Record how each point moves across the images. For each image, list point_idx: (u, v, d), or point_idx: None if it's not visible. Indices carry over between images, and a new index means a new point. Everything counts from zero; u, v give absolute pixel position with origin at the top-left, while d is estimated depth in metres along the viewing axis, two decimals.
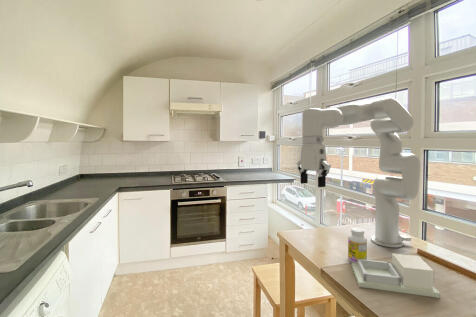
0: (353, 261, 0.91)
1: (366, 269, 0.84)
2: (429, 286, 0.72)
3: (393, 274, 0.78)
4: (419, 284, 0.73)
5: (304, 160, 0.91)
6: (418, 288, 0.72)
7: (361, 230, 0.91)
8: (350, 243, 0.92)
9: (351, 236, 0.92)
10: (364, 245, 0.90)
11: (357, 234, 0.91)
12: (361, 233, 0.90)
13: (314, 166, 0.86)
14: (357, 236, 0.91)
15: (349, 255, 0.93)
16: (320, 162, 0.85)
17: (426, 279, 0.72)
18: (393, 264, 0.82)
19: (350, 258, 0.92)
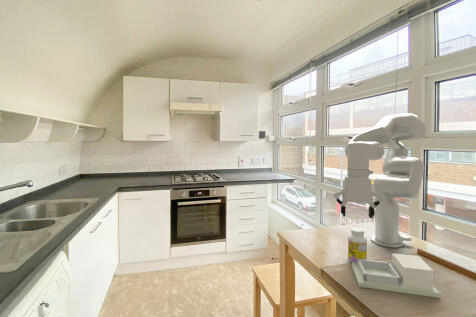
0: (353, 261, 0.91)
1: (366, 269, 0.84)
2: (429, 286, 0.72)
3: (393, 274, 0.78)
4: (419, 284, 0.73)
5: (354, 193, 0.90)
6: (418, 288, 0.72)
7: (361, 230, 0.91)
8: (350, 243, 0.92)
9: (351, 236, 0.92)
10: (364, 245, 0.90)
11: (357, 234, 0.91)
12: (361, 233, 0.90)
13: (368, 198, 0.89)
14: (357, 236, 0.91)
15: (349, 255, 0.93)
16: None
17: (426, 279, 0.72)
18: (393, 264, 0.82)
19: (350, 258, 0.92)
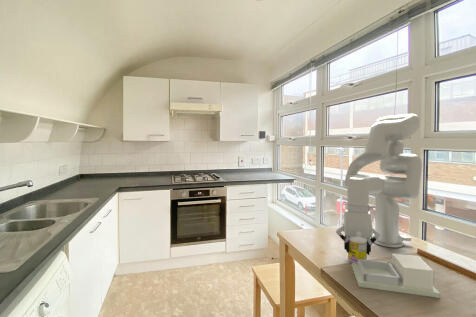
0: (353, 261, 0.91)
1: (366, 269, 0.84)
2: (429, 286, 0.72)
3: (393, 274, 0.78)
4: (419, 284, 0.73)
5: (354, 228, 0.91)
6: (418, 288, 0.72)
7: None
8: (350, 243, 0.92)
9: None
10: (364, 245, 0.90)
11: (357, 234, 0.90)
12: None
13: (368, 234, 0.90)
14: (357, 236, 0.91)
15: (349, 255, 0.93)
16: None
17: (426, 279, 0.72)
18: (393, 264, 0.82)
19: (350, 258, 0.92)
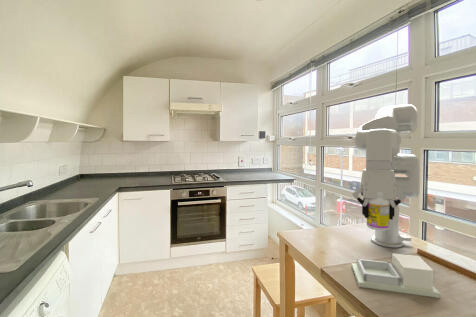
0: (373, 227, 0.78)
1: (366, 269, 0.84)
2: (429, 286, 0.72)
3: (393, 274, 0.78)
4: (419, 284, 0.73)
5: (375, 189, 0.77)
6: (418, 288, 0.72)
7: None
8: (370, 206, 0.79)
9: None
10: (387, 208, 0.76)
11: (378, 195, 0.77)
12: None
13: (391, 195, 0.76)
14: (378, 197, 0.77)
15: (368, 221, 0.79)
16: None
17: (426, 279, 0.72)
18: (393, 264, 0.82)
19: (370, 224, 0.79)
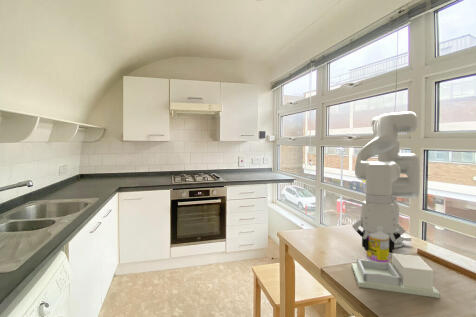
0: (373, 261, 0.78)
1: (366, 269, 0.84)
2: (429, 286, 0.72)
3: (393, 274, 0.78)
4: (419, 284, 0.73)
5: (375, 222, 0.78)
6: (418, 288, 0.72)
7: None
8: (369, 239, 0.79)
9: None
10: (386, 242, 0.77)
11: (378, 229, 0.77)
12: None
13: (391, 229, 0.77)
14: (378, 231, 0.78)
15: (368, 254, 0.80)
16: (396, 226, 0.77)
17: (426, 279, 0.72)
18: (393, 264, 0.82)
19: (369, 257, 0.79)
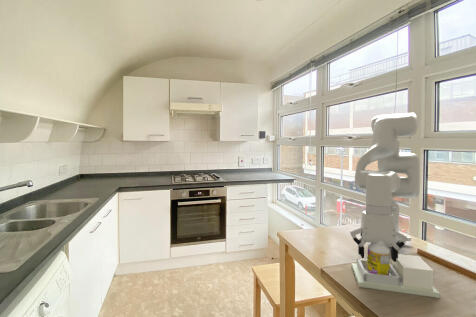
0: None
1: (366, 269, 0.84)
2: (429, 286, 0.72)
3: (393, 274, 0.78)
4: (419, 284, 0.73)
5: (374, 233, 0.78)
6: (418, 288, 0.72)
7: None
8: (370, 254, 0.79)
9: (371, 245, 0.80)
10: (387, 256, 0.77)
11: (379, 243, 0.78)
12: None
13: (391, 239, 0.77)
14: (379, 246, 0.78)
15: (369, 267, 0.80)
16: (396, 234, 0.77)
17: (426, 279, 0.72)
18: (393, 264, 0.82)
19: (370, 271, 0.80)
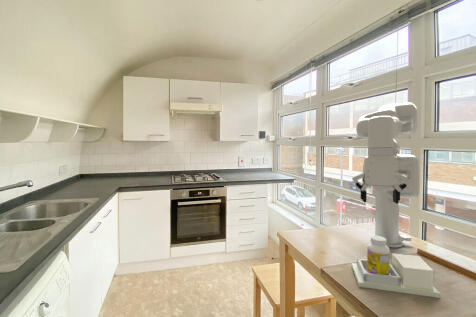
0: None
1: (366, 269, 0.84)
2: (429, 286, 0.72)
3: (393, 274, 0.78)
4: (419, 284, 0.73)
5: (377, 175, 0.78)
6: (418, 288, 0.72)
7: (383, 239, 0.79)
8: (370, 254, 0.79)
9: (371, 245, 0.80)
10: (387, 256, 0.77)
11: (378, 243, 0.78)
12: (383, 242, 0.78)
13: (393, 181, 0.77)
14: (378, 245, 0.78)
15: (368, 267, 0.80)
16: (398, 176, 0.78)
17: (426, 279, 0.72)
18: (393, 264, 0.82)
19: (370, 271, 0.80)
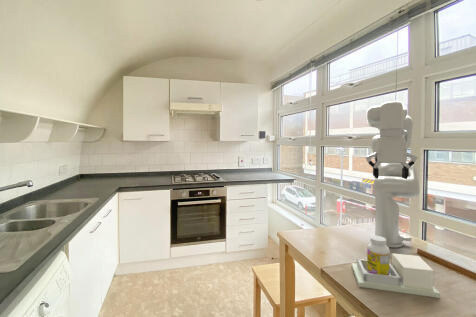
0: None
1: (366, 269, 0.84)
2: (429, 286, 0.72)
3: (393, 274, 0.78)
4: (419, 284, 0.73)
5: (388, 154, 0.89)
6: (418, 288, 0.72)
7: (383, 239, 0.79)
8: (370, 254, 0.79)
9: (371, 246, 0.80)
10: (387, 257, 0.77)
11: (378, 244, 0.78)
12: (383, 242, 0.78)
13: (402, 159, 0.88)
14: (378, 246, 0.78)
15: (368, 267, 0.80)
16: (406, 154, 0.88)
17: (426, 279, 0.72)
18: (393, 264, 0.82)
19: (370, 271, 0.80)
